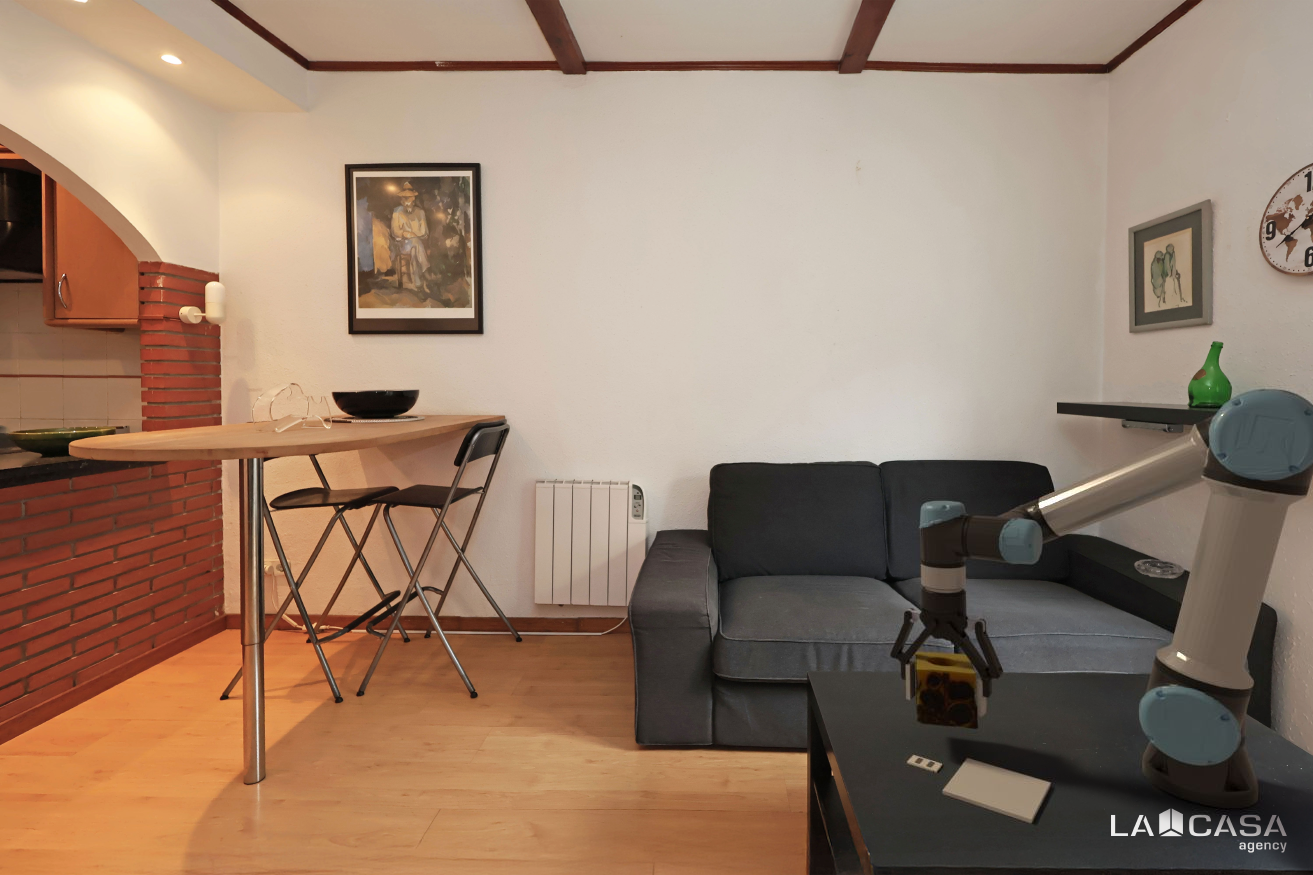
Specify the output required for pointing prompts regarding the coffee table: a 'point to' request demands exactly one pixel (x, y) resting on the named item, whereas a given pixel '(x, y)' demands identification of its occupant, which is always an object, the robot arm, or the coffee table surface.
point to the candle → (945, 690)
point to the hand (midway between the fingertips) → (945, 705)
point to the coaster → (998, 789)
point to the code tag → (924, 763)
